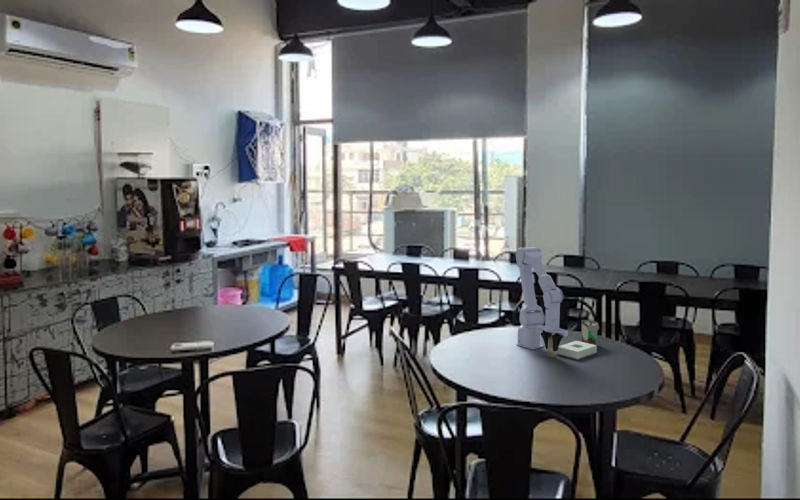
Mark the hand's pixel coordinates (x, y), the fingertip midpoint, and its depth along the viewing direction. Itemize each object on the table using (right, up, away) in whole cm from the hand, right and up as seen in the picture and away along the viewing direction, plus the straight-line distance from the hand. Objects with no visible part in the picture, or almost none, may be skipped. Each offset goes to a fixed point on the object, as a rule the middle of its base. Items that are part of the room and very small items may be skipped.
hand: (551, 349), depth 265 cm
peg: (0, -3, 0) cm, 3 cm away
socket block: (+12, -2, +4) cm, 12 cm away
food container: (+22, -1, +18) cm, 28 cm away
